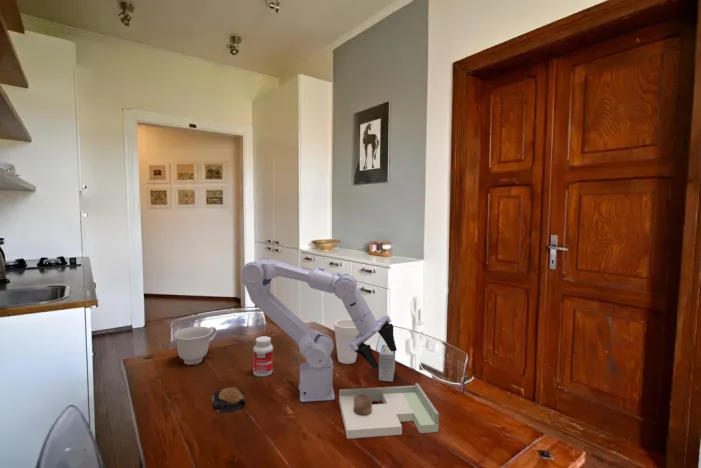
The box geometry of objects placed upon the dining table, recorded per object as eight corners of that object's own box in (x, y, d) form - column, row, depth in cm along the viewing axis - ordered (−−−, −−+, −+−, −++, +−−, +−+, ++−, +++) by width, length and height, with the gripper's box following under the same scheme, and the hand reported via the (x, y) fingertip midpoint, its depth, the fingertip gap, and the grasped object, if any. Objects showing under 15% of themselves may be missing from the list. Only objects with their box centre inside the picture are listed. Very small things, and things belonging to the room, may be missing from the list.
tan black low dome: (209, 398, 99) (209, 385, 98) (240, 391, 103) (240, 378, 103) (216, 418, 90) (215, 403, 89) (249, 409, 94) (249, 395, 93)
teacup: (226, 356, 125) (226, 328, 124) (187, 372, 112) (187, 341, 112) (205, 348, 131) (205, 322, 131) (166, 362, 119) (165, 333, 118)
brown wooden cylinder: (355, 416, 87) (355, 404, 87) (352, 406, 92) (352, 394, 91) (373, 415, 88) (373, 403, 88) (369, 405, 92) (369, 394, 92)
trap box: (347, 438, 82) (347, 419, 81) (338, 401, 97) (339, 385, 97) (438, 431, 85) (439, 413, 85) (416, 397, 100) (417, 382, 100)
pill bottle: (254, 378, 109) (254, 343, 109) (251, 370, 115) (251, 336, 114) (274, 375, 112) (275, 340, 111) (271, 367, 117) (271, 334, 117)
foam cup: (365, 359, 125) (366, 323, 124) (348, 368, 118) (349, 329, 117) (345, 352, 131) (346, 317, 130) (328, 359, 124) (328, 323, 123)
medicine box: (392, 382, 109) (393, 354, 108) (378, 380, 110) (379, 353, 109) (394, 371, 117) (395, 345, 116) (381, 369, 118) (382, 344, 117)
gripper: (350, 328, 91) (375, 375, 91) (387, 300, 99) (410, 343, 99) (336, 330, 96) (360, 374, 96) (372, 303, 105) (395, 344, 105)
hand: (385, 358), depth 98 cm, fingers open, 7 cm apart
